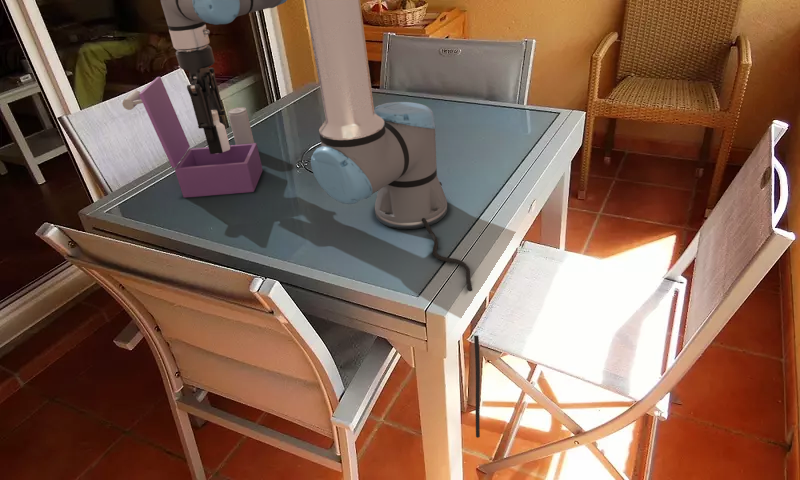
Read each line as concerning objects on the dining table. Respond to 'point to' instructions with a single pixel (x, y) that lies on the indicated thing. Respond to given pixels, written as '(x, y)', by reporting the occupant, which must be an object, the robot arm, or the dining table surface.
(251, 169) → the file box
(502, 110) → the dining table surface
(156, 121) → the lid
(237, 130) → the beverage can
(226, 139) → the salt shaker
